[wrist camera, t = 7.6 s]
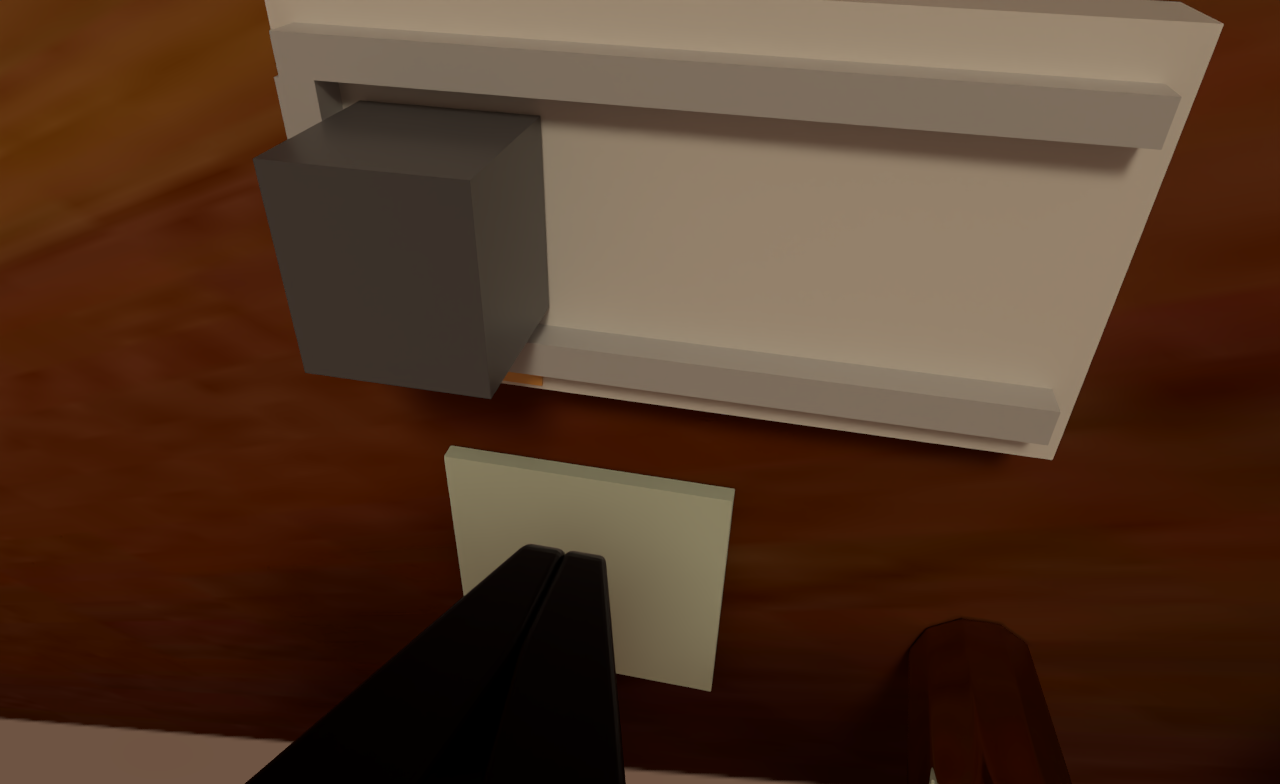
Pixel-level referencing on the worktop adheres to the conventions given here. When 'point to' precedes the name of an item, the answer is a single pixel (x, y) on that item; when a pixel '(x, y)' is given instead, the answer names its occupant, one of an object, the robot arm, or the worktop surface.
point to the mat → (607, 548)
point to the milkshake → (978, 710)
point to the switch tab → (411, 243)
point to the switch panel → (805, 188)
